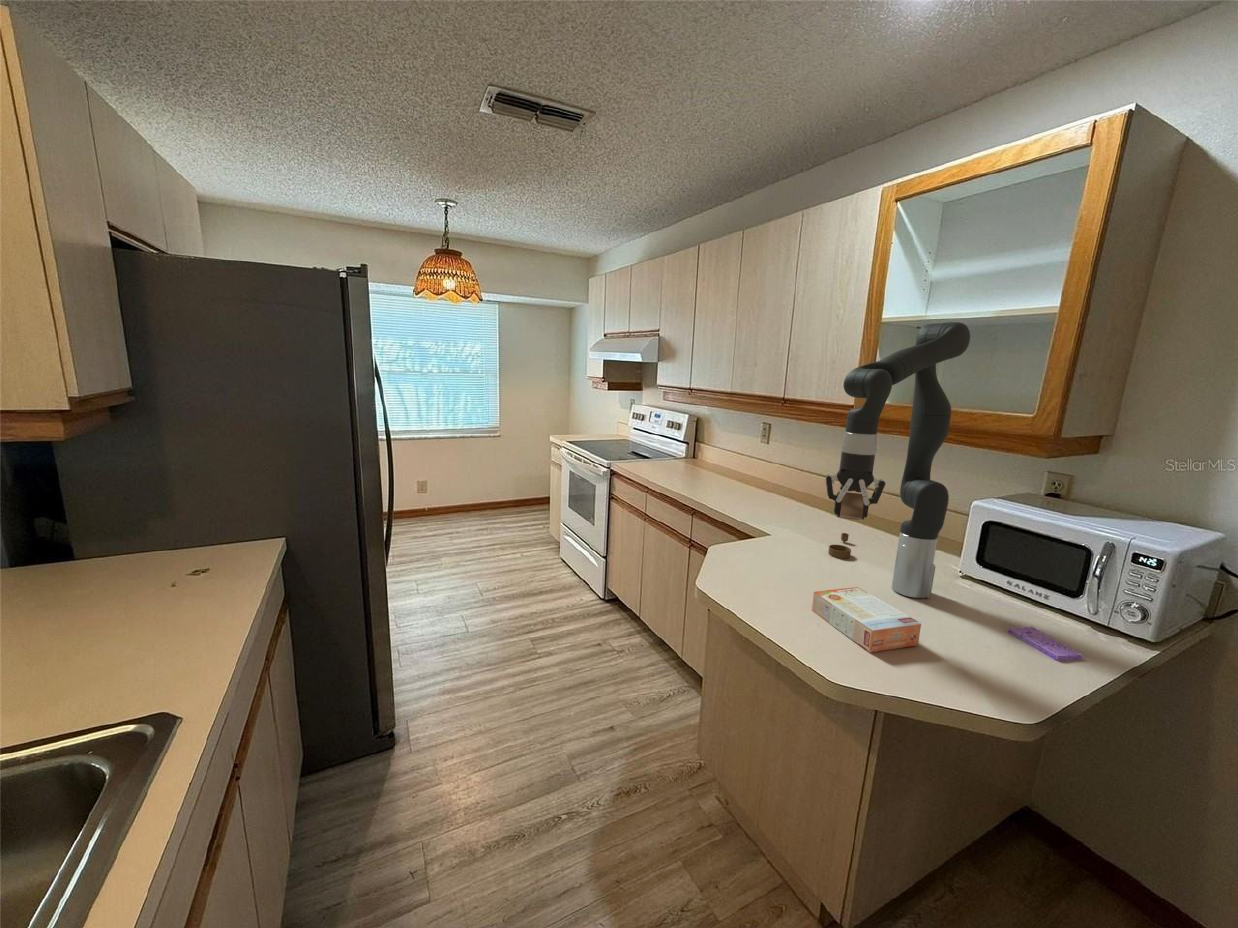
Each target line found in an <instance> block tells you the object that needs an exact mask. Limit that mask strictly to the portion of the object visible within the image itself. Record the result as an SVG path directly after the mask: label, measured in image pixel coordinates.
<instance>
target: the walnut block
mask: <svg viewBox="0 0 1238 928" xmlns="http://www.w3.org/2000/svg"><path fill="white" fill-rule="evenodd" d="M863 503H864V501H863V498H862V495H861V494H860V492H850V491H847V492H846V494H845V495H844V497H843V499H842V500H841V511H840V517H837V516H836V517H837V518H838V519H843V520H852V521H860V520H862V518H863Z"/></svg>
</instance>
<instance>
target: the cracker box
mask: <svg viewBox="0 0 1238 928" xmlns="http://www.w3.org/2000/svg"><path fill="white" fill-rule="evenodd" d="M812 598H813V599H812V608H811V611H812V612H813V613H815V614H816V615H817V616H818V617H820V618H821V619H823V620H824V621H825V622H827V623H828V624H829V625H831V626H832V627H834V628H835V629H836V630H838V631H839V632H841V633H842V634H843V635H845V636H846V637H848V638H849V639H851V640H852V641H853V642H854V643H856V644H857V645H858V646H861V648H863V649H865V650H866V651H867V652H869V653H874V652H883V651H889V650H895V649H900V648H907V647H914V646H916V647H917V646H918V645H919V643H920V642H919V641H920V634H921V627H922V623H921V622H920V621H918V620H917V619H915V618H913V617H911V616H909V615H907V614H905V613H904V612H902V611H900V610H898V609H897V608H896V607H893V606H891V605H890V604H888V603H886V602H884V601H883V600H882V599H879V598H878V597H875V596H874V595H872V594H870V593H868V592H867V591H865V590H864V589H862V588H860V587H858V586H855V587H845V588H836V589H827V590H816V591H814V592H813V597H812Z"/></svg>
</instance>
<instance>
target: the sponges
mask: <svg viewBox="0 0 1238 928" xmlns="http://www.w3.org/2000/svg"><path fill="white" fill-rule="evenodd" d="M1007 632H1008V633H1009V634H1011V635H1013V636H1014V637H1016V638H1018V639H1019V640H1021V641H1023V642H1024V643H1026V644H1028V645H1030V646H1031V647H1032V648H1034V649H1035V650H1038V651H1039V652H1040V653H1042V654H1044V655H1046V656H1047V657H1049V658H1051V659H1052V660H1055V661H1057V662H1062V661H1065V662H1066V661H1075V660H1079V661H1080V660H1082V659H1083V654H1082V653H1080V652H1078V651H1077V650H1075V649H1073V648H1072V647H1069V646H1067V645H1066V644H1064V643H1061V642H1060V641H1058V640H1057V639H1056V638H1053V637H1051V636H1049V635H1048V634H1046V633H1044V632H1042V631H1041V630H1039V629H1037V628H1036V627H1035V626H1024V627H1022V626H1020V627H1019V626H1018V627H1015V626H1014V627H1008V631H1007Z"/></svg>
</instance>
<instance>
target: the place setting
mask: <svg viewBox="0 0 1238 928" xmlns="http://www.w3.org/2000/svg"><path fill="white" fill-rule="evenodd" d="M849 536H850V535H849V533H846V532H841V535H840V540H841V541H842V543H843V544H845V543H846V542H848V540H849ZM851 554H852V549H851V547H848V546H845V545H842V544H830V545H828V555H829V556H830V557H831V558H835V559H840V560H847V559H850V558H851Z"/></svg>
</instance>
